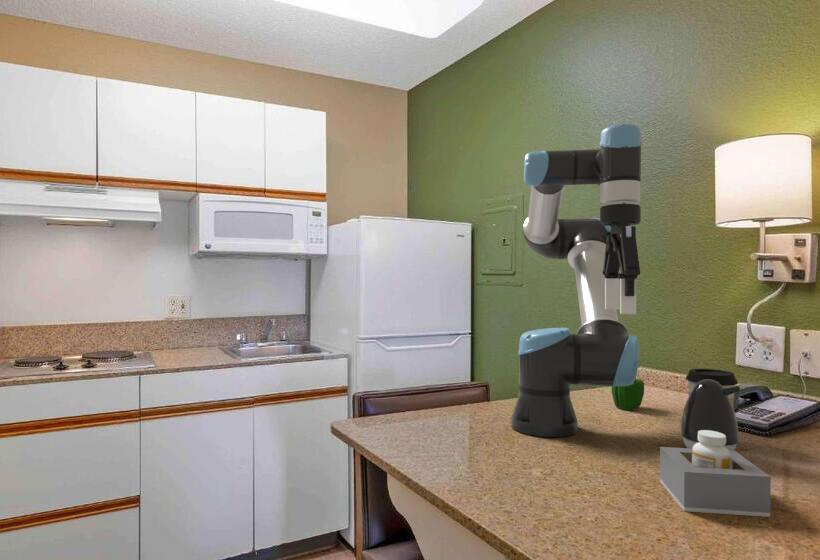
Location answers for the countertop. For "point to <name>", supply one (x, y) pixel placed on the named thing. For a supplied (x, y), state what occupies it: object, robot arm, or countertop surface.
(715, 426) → the pump dispenser
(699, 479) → the well
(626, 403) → the bell pepper
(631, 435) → the countertop surface
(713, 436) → the supplement bottle
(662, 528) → the countertop surface
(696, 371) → the coffee cup
